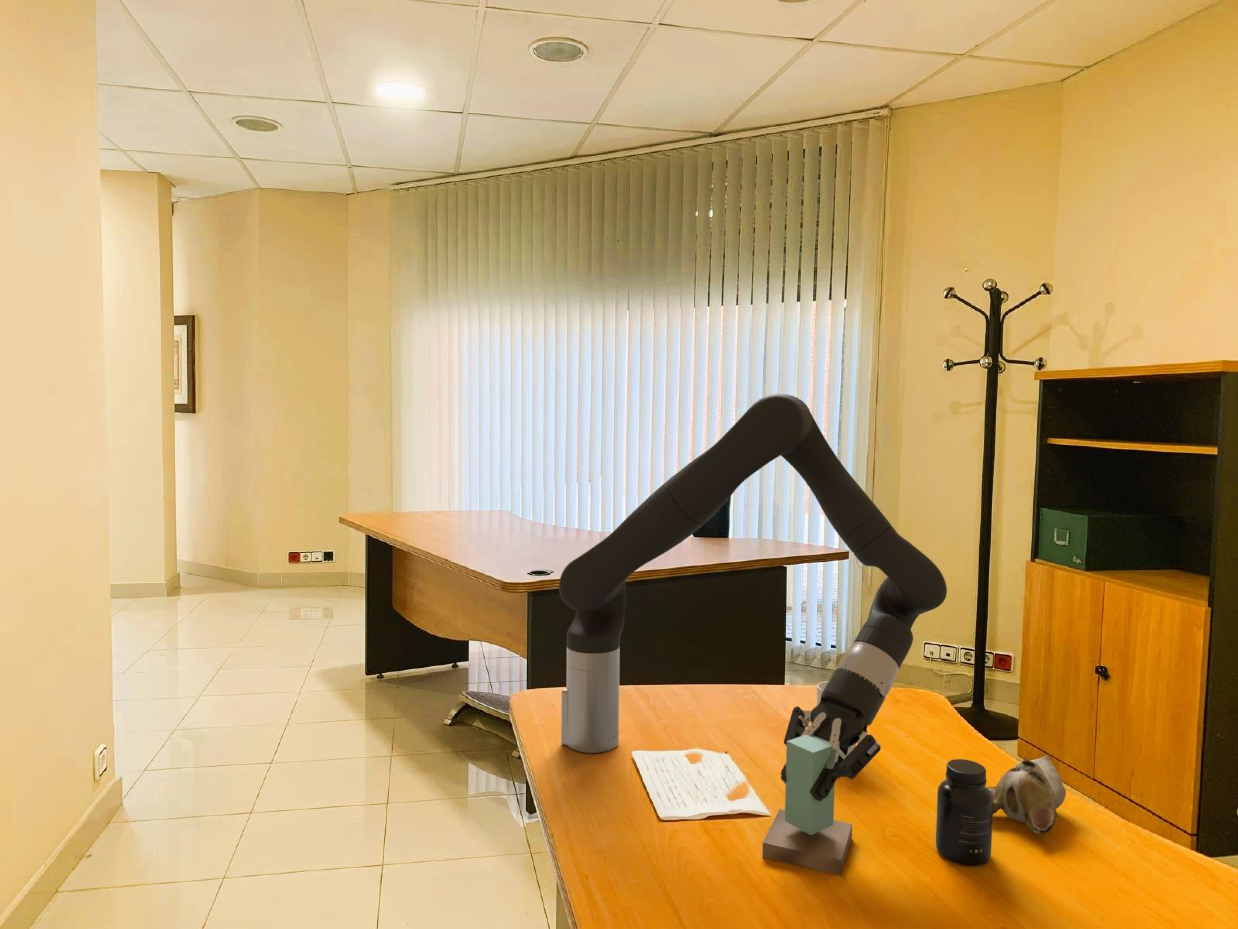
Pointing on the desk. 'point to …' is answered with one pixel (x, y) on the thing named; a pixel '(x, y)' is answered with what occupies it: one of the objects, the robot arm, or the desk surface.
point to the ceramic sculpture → (1030, 794)
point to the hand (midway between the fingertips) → (800, 789)
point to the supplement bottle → (964, 814)
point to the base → (808, 845)
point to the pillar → (807, 784)
